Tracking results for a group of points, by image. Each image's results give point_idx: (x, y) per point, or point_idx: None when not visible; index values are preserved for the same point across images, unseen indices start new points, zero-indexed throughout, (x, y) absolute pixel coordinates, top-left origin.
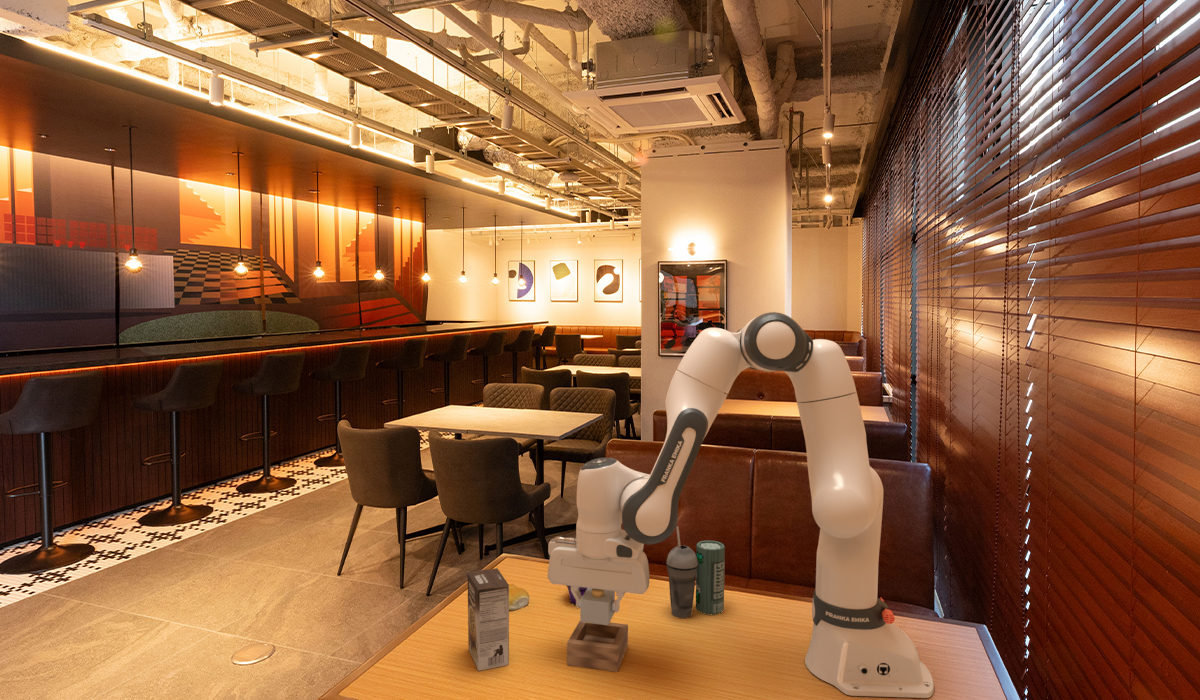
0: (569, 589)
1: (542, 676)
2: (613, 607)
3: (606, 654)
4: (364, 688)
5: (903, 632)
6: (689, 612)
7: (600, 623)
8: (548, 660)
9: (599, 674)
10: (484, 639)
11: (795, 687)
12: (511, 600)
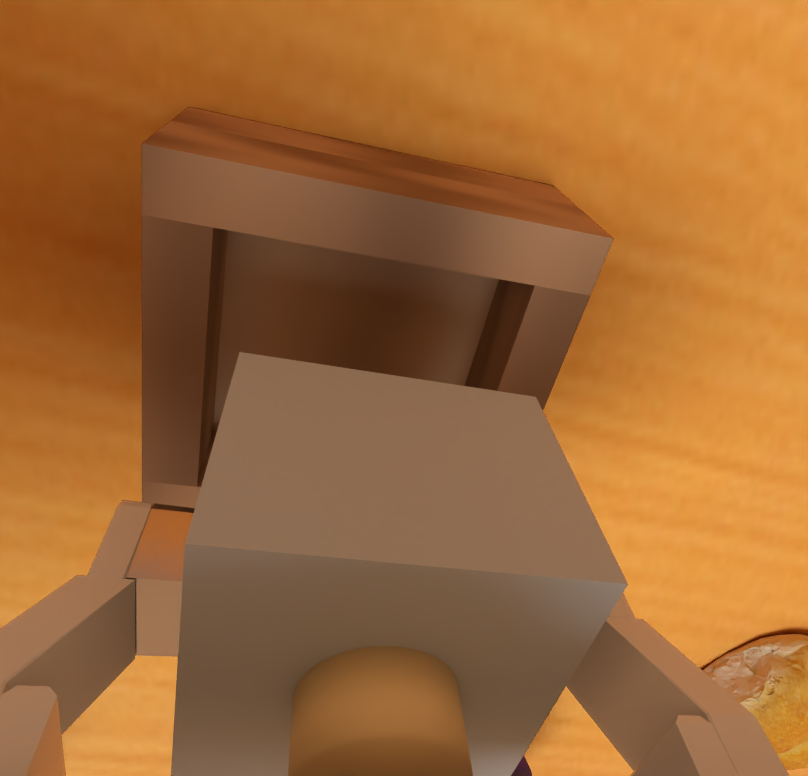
0: (527, 771)
1: (739, 22)
2: (162, 541)
3: (263, 150)
4: None
5: None
6: None
7: (325, 369)
8: (666, 237)
9: (321, 68)
10: None
11: None
12: (799, 679)
